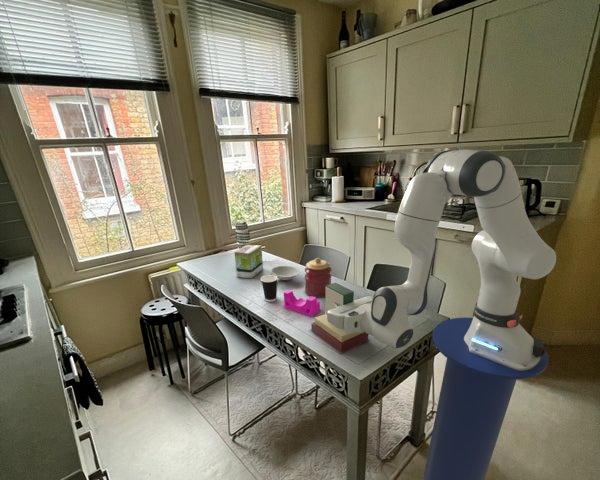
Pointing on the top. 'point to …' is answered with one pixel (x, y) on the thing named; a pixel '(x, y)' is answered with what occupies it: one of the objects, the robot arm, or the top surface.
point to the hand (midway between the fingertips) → (339, 302)
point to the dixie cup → (269, 287)
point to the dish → (285, 272)
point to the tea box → (248, 261)
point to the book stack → (337, 334)
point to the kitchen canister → (317, 277)
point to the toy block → (301, 304)
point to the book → (338, 295)
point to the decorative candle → (242, 234)
